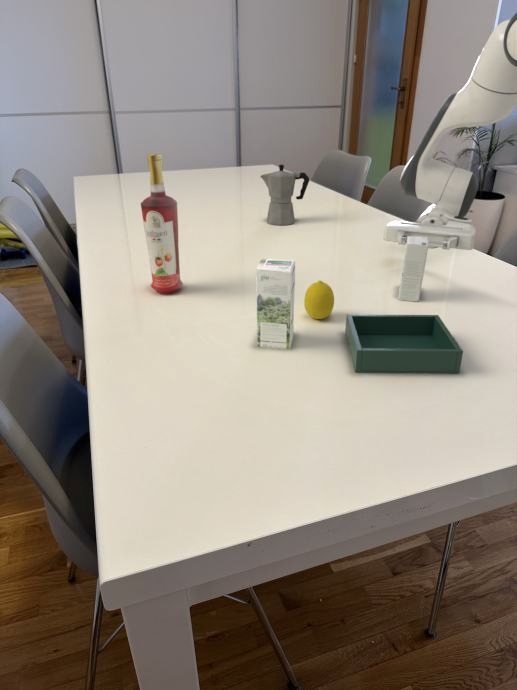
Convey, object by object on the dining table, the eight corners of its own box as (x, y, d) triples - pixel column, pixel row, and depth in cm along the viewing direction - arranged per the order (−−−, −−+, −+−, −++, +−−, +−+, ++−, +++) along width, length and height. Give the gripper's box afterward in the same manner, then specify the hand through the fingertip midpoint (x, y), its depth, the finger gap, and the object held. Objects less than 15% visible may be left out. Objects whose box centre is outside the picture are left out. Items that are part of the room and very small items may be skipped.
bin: (434, 338, 90) (438, 314, 88) (458, 377, 78) (463, 351, 76) (344, 337, 90) (346, 314, 88) (354, 376, 78) (357, 350, 76)
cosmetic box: (398, 290, 111) (405, 235, 106) (420, 292, 110) (428, 236, 104) (397, 300, 106) (405, 243, 100) (420, 302, 105) (428, 244, 99)
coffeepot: (259, 225, 164) (259, 166, 156) (261, 219, 172) (260, 162, 164) (308, 225, 163) (310, 166, 155) (307, 219, 172) (309, 162, 163)
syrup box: (294, 337, 91) (295, 258, 84) (290, 353, 85) (291, 269, 79) (262, 335, 91) (261, 256, 85) (256, 350, 86) (255, 268, 80)
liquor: (188, 285, 115) (178, 153, 102) (177, 297, 109) (165, 157, 96) (157, 283, 116) (144, 152, 104) (145, 295, 110) (128, 157, 97)
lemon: (307, 328, 94) (309, 286, 91) (300, 316, 99) (301, 276, 95) (336, 325, 95) (339, 285, 91) (328, 314, 100) (330, 275, 96)
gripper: (391, 212, 127) (378, 224, 116) (480, 219, 119) (474, 234, 108) (388, 237, 130) (375, 251, 118) (475, 246, 122) (469, 263, 111)
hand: (423, 243), depth 113 cm, fingers open, 8 cm apart
